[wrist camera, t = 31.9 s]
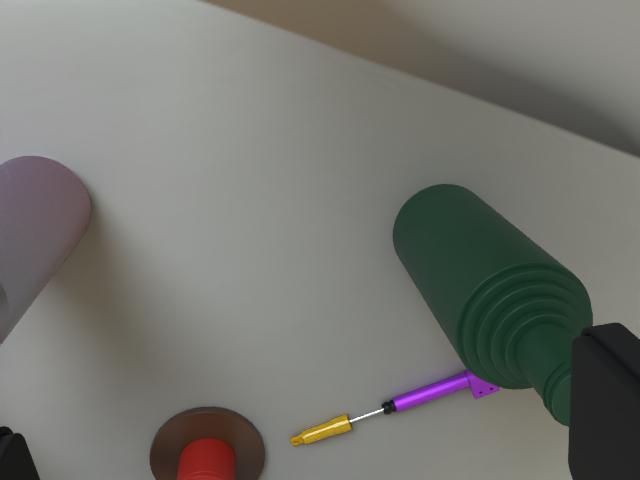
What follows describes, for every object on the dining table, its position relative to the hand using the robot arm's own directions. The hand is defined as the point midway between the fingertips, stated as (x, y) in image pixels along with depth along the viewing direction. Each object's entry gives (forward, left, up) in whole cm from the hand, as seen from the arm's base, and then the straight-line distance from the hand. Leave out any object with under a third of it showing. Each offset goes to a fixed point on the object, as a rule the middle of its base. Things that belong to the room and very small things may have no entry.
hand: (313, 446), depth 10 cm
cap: (+22, -8, -27) cm, 36 cm away
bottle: (+8, +10, -28) cm, 31 cm away
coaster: (+22, -8, -28) cm, 37 cm away
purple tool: (+21, +6, -29) cm, 36 cm away
